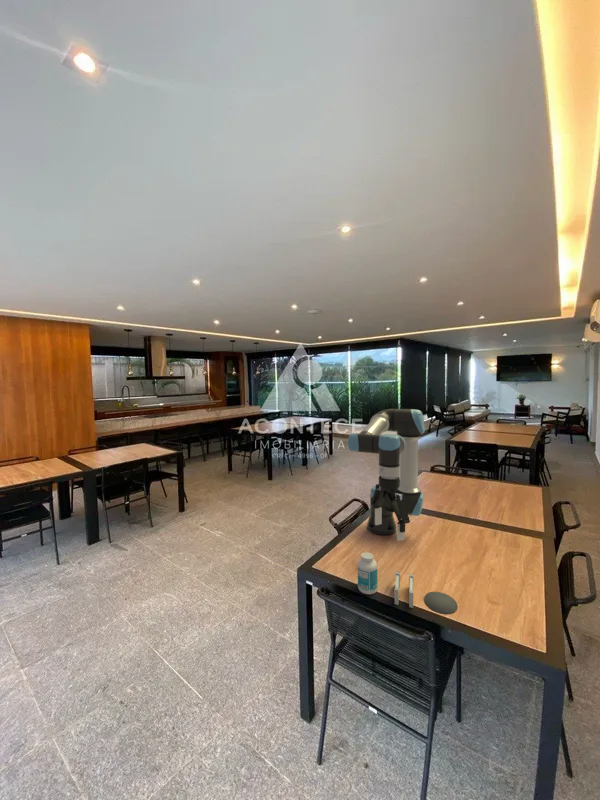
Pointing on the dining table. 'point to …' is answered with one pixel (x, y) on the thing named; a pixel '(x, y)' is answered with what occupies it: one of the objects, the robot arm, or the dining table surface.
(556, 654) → the dining table surface
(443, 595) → the coaster
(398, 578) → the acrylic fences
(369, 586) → the pill bottle
